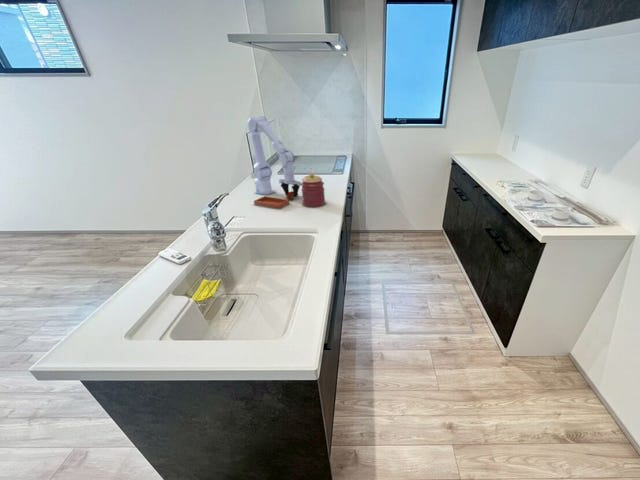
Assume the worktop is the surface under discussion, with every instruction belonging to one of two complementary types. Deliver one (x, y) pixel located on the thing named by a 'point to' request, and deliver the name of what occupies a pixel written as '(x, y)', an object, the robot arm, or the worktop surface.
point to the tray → (271, 202)
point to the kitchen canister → (313, 191)
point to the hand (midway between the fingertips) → (291, 196)
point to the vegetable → (290, 195)
